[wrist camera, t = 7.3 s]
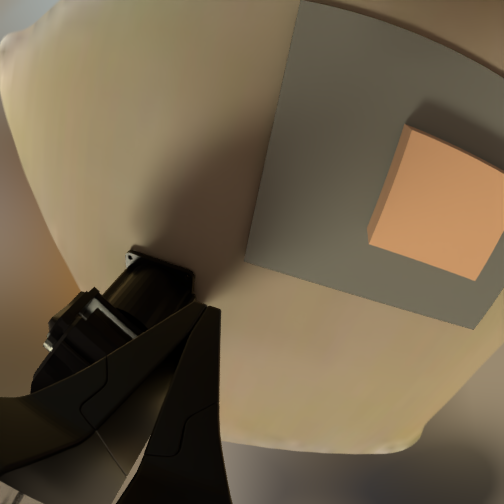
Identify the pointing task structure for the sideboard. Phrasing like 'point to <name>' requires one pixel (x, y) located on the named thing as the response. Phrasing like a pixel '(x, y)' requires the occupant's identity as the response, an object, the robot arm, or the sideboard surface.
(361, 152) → the mat
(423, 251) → the tile
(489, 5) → the sideboard surface
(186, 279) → the robot arm
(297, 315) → the sideboard surface
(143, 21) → the sideboard surface
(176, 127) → the sideboard surface
